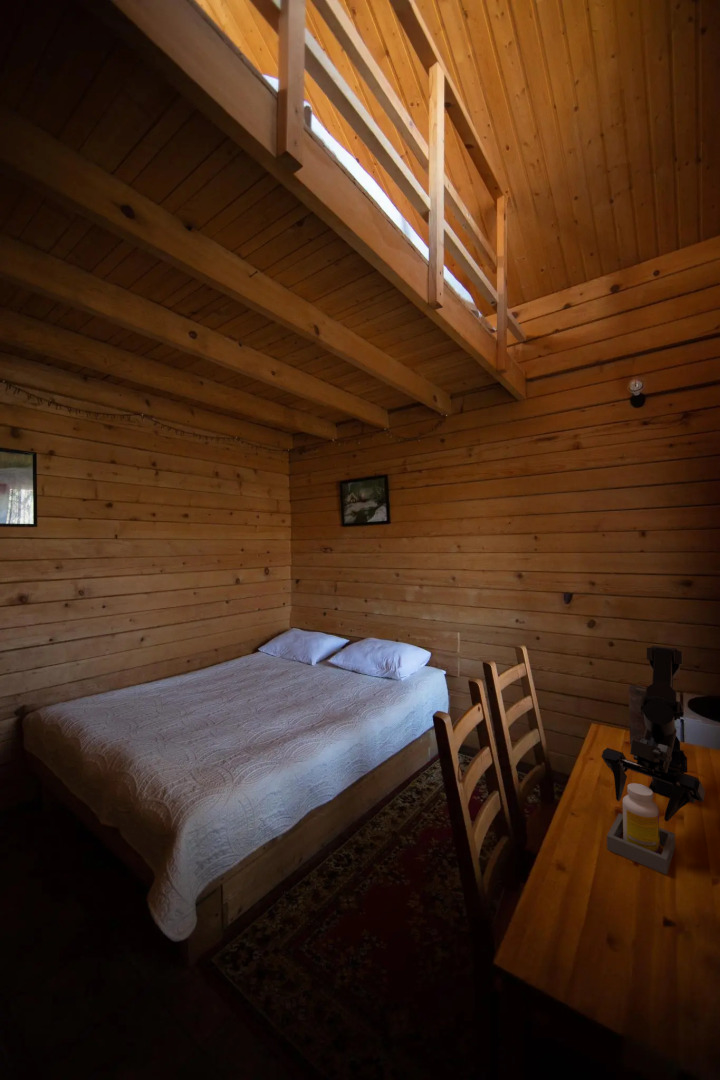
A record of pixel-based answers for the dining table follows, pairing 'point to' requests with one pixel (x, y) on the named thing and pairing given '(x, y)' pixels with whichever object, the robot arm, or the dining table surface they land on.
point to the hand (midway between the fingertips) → (640, 810)
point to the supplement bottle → (641, 818)
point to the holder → (639, 853)
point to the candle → (636, 712)
